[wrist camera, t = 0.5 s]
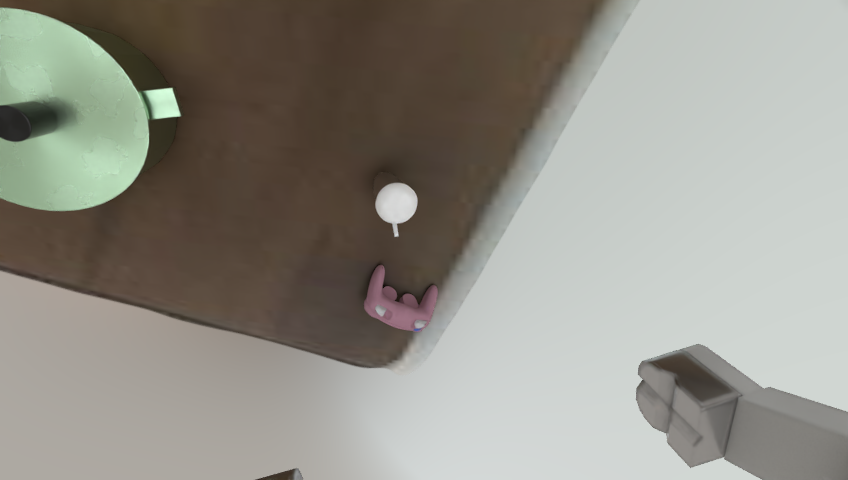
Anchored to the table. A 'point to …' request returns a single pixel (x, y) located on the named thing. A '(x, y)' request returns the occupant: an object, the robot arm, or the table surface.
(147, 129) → the lid
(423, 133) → the table surface
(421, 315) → the video game controller
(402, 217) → the milkshake
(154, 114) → the pot
